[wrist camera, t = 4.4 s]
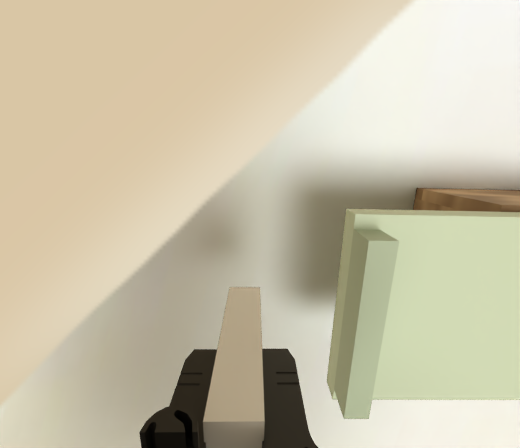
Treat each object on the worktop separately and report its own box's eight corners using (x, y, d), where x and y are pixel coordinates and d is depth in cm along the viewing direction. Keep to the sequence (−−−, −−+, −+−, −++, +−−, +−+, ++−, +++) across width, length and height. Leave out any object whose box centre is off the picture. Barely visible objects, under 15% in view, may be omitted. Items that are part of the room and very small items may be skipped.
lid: (326, 380, 15) (342, 429, 12) (346, 208, 12) (371, 223, 10) (556, 381, 15) (620, 429, 13) (622, 214, 13) (721, 229, 10)
